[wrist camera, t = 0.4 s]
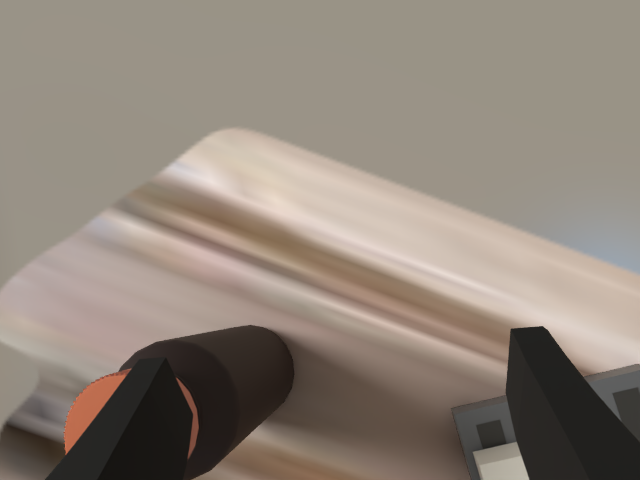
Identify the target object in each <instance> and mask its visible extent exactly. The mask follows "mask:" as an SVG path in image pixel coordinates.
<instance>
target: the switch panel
mask: <svg viewBox="0 0 640 480" xmlns="http://www.w3.org/2000/svg"><path fill="white" fill-rule="evenodd" d="M584 379H585V380H586V381H587V382H588V384H589V385H590V386H591V387H592V388H593V390H594V391H595V392H596V393H597V394H598V396H599V397H600V398H601V399H602V400H603V401H604V402H605V404H606V405H607V406H608V407H609V408H610V409H611V410H612V412H613V413H614V414H615V415H616V416H617V417H618V418H619V420H620V421H621V422H622V423H623V424H624V425H625V426H626V427H627V429H628V430H629V431H630V432H631V433H632V434H633V435H634V436H635V437H636V438H637V439H638V440H639V442H640V364H635V365H631V366H627V367H623V368H619V369H614V370H610V371H606V372H602V373H598V374H594V375H589V376H585V377H584ZM451 410H452V414H453V417H454V421H455V424H456V428H457V432H458V435H459V439H460V442H461V446H462V449H463V453H464V456H465V460H466V463H467V467H468V470H469V474H470V477H471V480H481V479H480V476H479V472H478V469H477V465H476V462H475V458H474V455H473V452H474V451H479V450H483V449H487V448H492V447H496V446H500V445H505V444H509V443H513V442H517V441H516V437H515V433H514V428H513V424H512V420H511V415H510V410H509V406H508V401H507V397H506V396H501V397H497V398H493V399H489V400H485V401H480V402H476V403H472V404H468V405H464V406H459V407H455V408H451Z"/></svg>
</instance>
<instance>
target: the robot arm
mask: <svg viewBox="0 0 640 480" xmlns="http://www.w3.org/2000/svg"><path fill="white" fill-rule="evenodd" d="M506 397H507V401H508V406H509V410H510V415H511V420H512V424H513V428H514V433H515V437H516V441H517V444H518V447H519V450H520V453H521V456H522V459H523V462H524V465H525V468H526V471H527V474H528V477H529V480H640V442H639V440H638V439H637V438H636V437H635V436H634V435H633V434H632V433H631V432H630V431H629V430H628V429H627V427H626V426H625V425H624V424H623V423H622V422H621V421H620V420H619V418H618V417H617V416H616V415H615V414H614V413H613V412H612V410H611V409H610V408H609V407H608V406H607V405H606V404H605V402H604V401H603V400H602V399H601V398H600V397H599V396H598V394H597V393H596V392H595V391H594V390H593V388H592V387H591V386H590V385H589V384H588V382H587V381H586V380H585V379H584V377H583V376H582V375H581V374H580V372H579V371H578V370H577V369H576V368H575V366H574V365H573V364H572V362H571V361H570V360H569V359H568V357H567V356H566V355H565V353H564V352H563V351H562V349H561V348H560V347H559V345H558V344H557V343H556V341H555V340H554V338H553V337H552V336H551V334H550V333H549V331H548V330H547V329H545V328H544V327H543V326H539V327H527V328H515V329H511V332H510V345H509V358H508V370H507V383H506ZM192 422H193V413H192V410H191V408H190V406H189V404H188V402H187V400H186V398H185V396H184V394H183V392H182V390H181V387H180V385H179V383H178V381H177V379H176V377H175V375H174V373H173V371H172V369H171V366H170V364H169V362H168V360H167V358H166V357H159V358H147V359H139V360H138V361H137V362H136V364H135V365H134V366H133V367H132V369H131V370H130V371H129V373H128V374H127V375H126V377H125V378H124V379H123V381H122V382H121V383H120V385H119V386H118V387H117V389H116V390H115V391H114V393H113V394H112V395H111V397H110V398H109V399H108V401H107V402H106V403H105V405H104V406H103V407H102V409H101V410H100V411H99V413H98V414H97V415H96V417H95V418H94V419H93V421H92V422H91V423H90V425H89V426H88V427H87V428H86V430H85V431H84V432H83V434H82V435H81V436H80V437H79V439H78V440H77V441H76V443H75V444H74V445H73V446H72V448H71V449H70V450H69V451H68V453H67V454H66V455H65V456H64V458H63V459H62V460H61V461H60V463H59V464H58V465H57V466H56V467H55V468H54V470H53V471H52V472H51V473H50V474H49V476H48V477H47V478H46V479H45V480H183V477H184V473H185V469H186V465H187V460H188V453H189V446H190V439H191V431H192Z"/></svg>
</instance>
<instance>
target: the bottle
mask: <svg viewBox="0 0 640 480" xmlns="http://www.w3.org/2000/svg"><path fill="white" fill-rule="evenodd" d="M159 357H166V358H167V360H168V362H169V364H170V366H171V369H172V371H173V373H174V375H175V377H176V379H177V381H178V383H179V385H180V387H181V390H182V392H183V394H184V396H185V398H186V400H187V402H188V404H189V406H190V408H191V410H192V413H193V422H192V431H191V439H190V446H189V453H188V460H187V465H186V469H185V473H184V477H183V480H191V479H194V478H196V477H198V476H200V475H202V474H204V473H206V472H209V471H210V470H212V469H213V468H214V467H215V466H216V465H217V464H218V463H219V462H220V461H221V460H222V459H223V458H224V457H226V456H227V455H228V454H229V453H230V452H231V451H232V450H233V449H234V448H235V447H236V446H237V445H238V444H239V443H241V442H242V441H243V440H244V439H245V438H246V437H247V436H248V435H249V434H250V433H251V432H252V431H253V430H254V429H256V428H257V427H258V426H259V425H260V424H261V423H262V422H263V421H264V420H265V419H266V418H267V417H268V416H269V415H271V414H272V413H273V412H274V411H275V410H276V409H277V408H278V407H279V406H280V405H281V404H282V403H283V402H284V401H285V399H286V398H287V396H288V394H289V392H290V390H291V388H292V383H293V377H294V368H293V360H292V357H291V355H290V352H289V350H288V348H287V346H286V345H285V343H284V342H283V341H282V340H281V339H280V338H279V337H278V336H277V335H276V334H274V333H273V332H271V331H269V330H267V329H266V328H263V327H258V326H253V325H248V326H240V327H234V328H228V329H223V330H218V331H212V332H207V333H202V334H196V335H191V336H185V337H180V338H175V339H169V340H164V341H158V342H155V343H153V344H151V345H149V346H147V347H145V348H143V349H141V350H139V351H137V352H136V353H135V354H134V355H133V356H132V357H131V358H130V359H128V360H127V361H126V362H125V363H124V364H123V365H122V366H121V368H120V370H119V372H117V373H113V374H109V375H106V376H104V377H101V378H100V379H97V380H95V382H92V383H91V385H88V386H87V388H85V389H83V391H84V392H81V393H79V394H80V396H78V397H76V401H73V403H74V405H73V406H71V408H72V409H71V410H70V411H68V412H69V414H68V416H66V417H67V421H65V422H66V426H65V427H64V428H65V432H63V433H64V434H65V437H64V439H65V443H64V444H65V448H64V449H66V454H67V453H68V451H69V450H70V449H71V448H72V446H73V445H74V444H75V443H76V441H77V440H78V439H79V437H80V436H81V435H82V434H83V432H84V431H85V430H86V428H87V427H88V426H89V425H90V423H91V422H92V421H93V419H94V418H95V417H96V415H97V414H98V413H99V411H100V410H101V409H102V407H103V406H104V405H105V403H106V402H107V401H108V399H109V398H110V397H111V395H112V394H113V393H114V391H115V390H116V389H117V387H118V386H119V385H120V383H121V382H122V381H123V379H124V378H125V377H126V375H127V374H128V373H129V371H130V370H131V369H132V367H133V366H134V365H135V364H136V362H137V361H138V360H139V359H147V358H159Z"/></svg>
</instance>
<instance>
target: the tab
mask: <svg viewBox="0 0 640 480" xmlns="http://www.w3.org/2000/svg"><path fill="white" fill-rule="evenodd" d="M473 455H474V458H475V462H476V465H477V469H478V472H479V476H480V479H481V480H529V477H528V474H527V471H526V468H525V465H524V462H523V459H522V456H521V453H520V450H519V447H518V444H517V442H513V443H509V444H505V445H500V446H496V447H492V448H487V449H483V450H479V451H474V452H473Z"/></svg>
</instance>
